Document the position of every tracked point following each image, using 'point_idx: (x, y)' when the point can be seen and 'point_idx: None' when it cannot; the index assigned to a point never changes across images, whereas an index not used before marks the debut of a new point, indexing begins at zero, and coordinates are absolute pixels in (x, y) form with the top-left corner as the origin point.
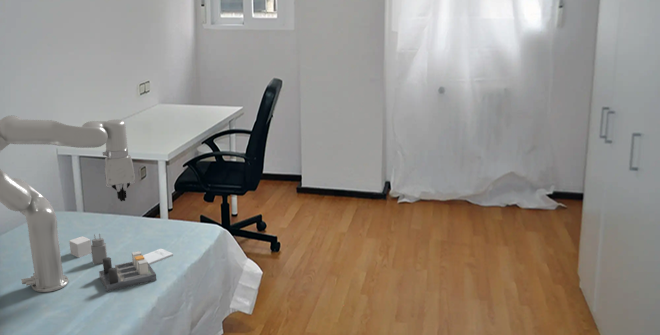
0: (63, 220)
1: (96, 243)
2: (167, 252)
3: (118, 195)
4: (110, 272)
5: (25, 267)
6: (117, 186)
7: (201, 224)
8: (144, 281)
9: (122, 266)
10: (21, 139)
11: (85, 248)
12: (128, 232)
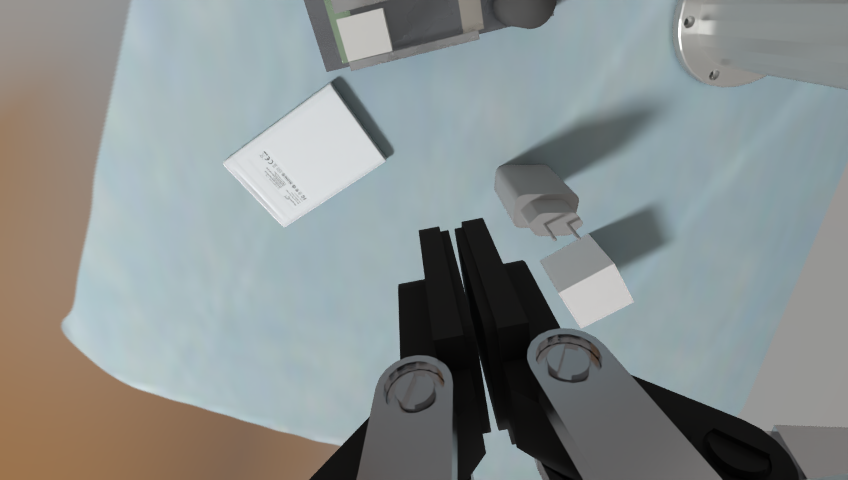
0: None
1: (559, 205)
2: (249, 179)
3: (533, 291)
4: None
5: (769, 202)
6: (641, 446)
7: (163, 389)
8: None
9: (442, 37)
10: None
11: (571, 263)
12: None
